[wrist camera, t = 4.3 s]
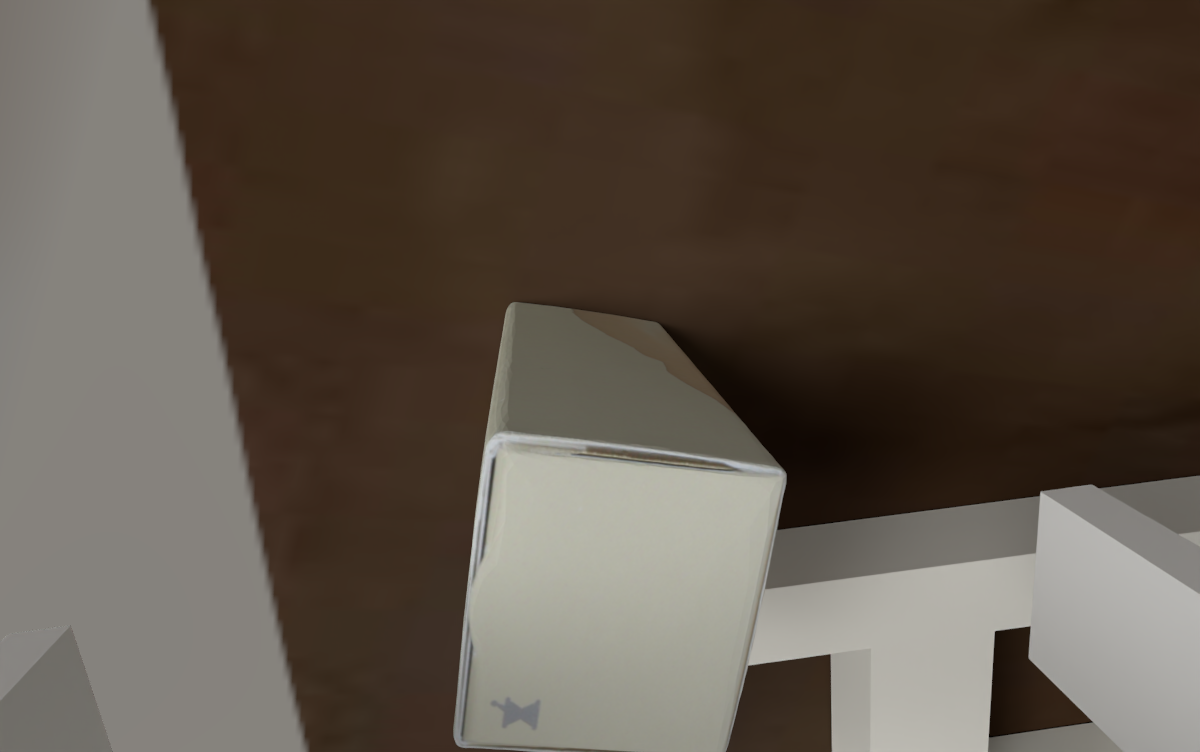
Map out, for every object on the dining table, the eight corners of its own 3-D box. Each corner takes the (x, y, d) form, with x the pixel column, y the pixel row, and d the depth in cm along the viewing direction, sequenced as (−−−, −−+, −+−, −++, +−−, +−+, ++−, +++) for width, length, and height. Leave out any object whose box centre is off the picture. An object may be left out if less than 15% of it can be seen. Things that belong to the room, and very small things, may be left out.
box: (632, 488, 23) (725, 786, 12) (482, 472, 22) (442, 769, 11) (664, 311, 21) (800, 470, 11) (506, 289, 21) (484, 434, 10)
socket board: (1199, 475, 24) (1307, 527, 21) (1151, 832, 28) (1235, 924, 25) (555, 558, 23) (560, 628, 20) (600, 919, 27) (610, 1028, 24)
